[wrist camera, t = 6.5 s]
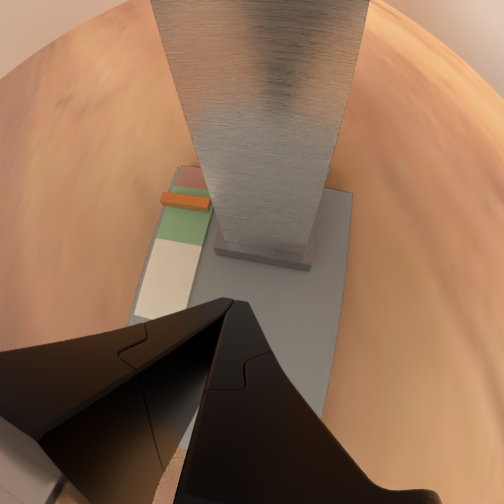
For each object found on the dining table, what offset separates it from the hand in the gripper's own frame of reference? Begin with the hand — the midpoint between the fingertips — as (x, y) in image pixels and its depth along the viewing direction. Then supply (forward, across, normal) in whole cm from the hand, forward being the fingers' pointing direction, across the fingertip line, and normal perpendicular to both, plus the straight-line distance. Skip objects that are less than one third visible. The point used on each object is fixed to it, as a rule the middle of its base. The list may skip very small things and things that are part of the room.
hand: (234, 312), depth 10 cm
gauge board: (+7, -1, -4) cm, 8 cm away
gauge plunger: (+9, -2, 0) cm, 9 cm away
